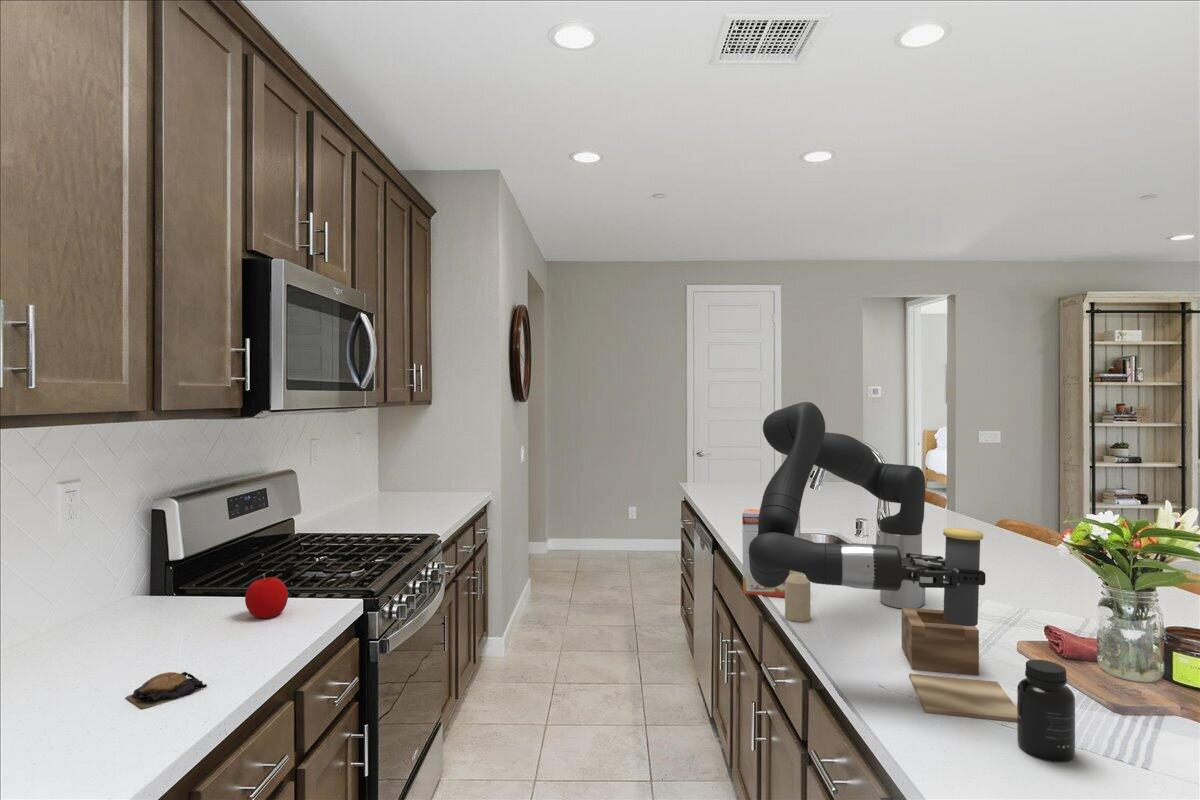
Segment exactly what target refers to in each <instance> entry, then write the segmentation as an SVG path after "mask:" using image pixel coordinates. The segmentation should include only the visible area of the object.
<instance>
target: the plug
mask: <svg viewBox="0 0 1200 800" xmlns="http://www.w3.org/2000/svg"><path fill="white" fill-rule="evenodd" d="M942 532H943V533H942V534H943V535H942V536H944V537H945V553H944V555H945V558H944V559H945V567H948V568H957V569H965V570H980V565H981V564H980V563H981V561H980V560H981V540H984V533H983V532H982V531H979V530H977V529H976V530H975V529H971V528H963V527H945V528H943V531H942ZM944 579H948V580H949V576H944ZM943 591H944V592H943V610H944V615H943V619H944V620H945V621H947V622H949V623H952V624H956V625H961V626H975V627H976V626H977V625H978V624H979V623H978V621H979V597H980V593H979V591H980V585H970V584H960V583H959V585H958V588H943Z"/></svg>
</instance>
